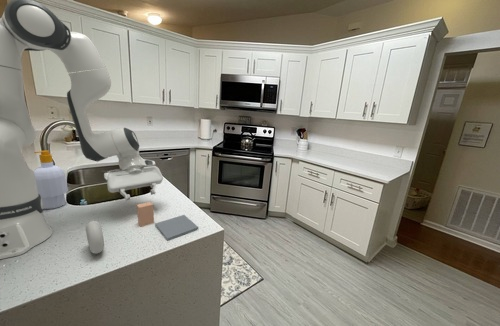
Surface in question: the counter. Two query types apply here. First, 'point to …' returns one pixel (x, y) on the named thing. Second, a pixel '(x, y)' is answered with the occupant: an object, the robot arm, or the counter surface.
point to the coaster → (176, 227)
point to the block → (145, 214)
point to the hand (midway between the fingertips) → (141, 196)
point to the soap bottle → (50, 182)
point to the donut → (95, 237)
